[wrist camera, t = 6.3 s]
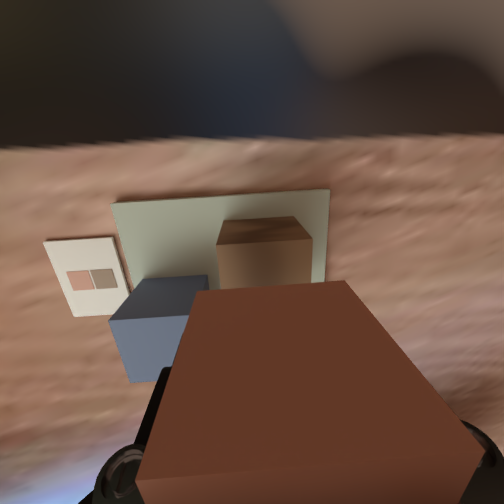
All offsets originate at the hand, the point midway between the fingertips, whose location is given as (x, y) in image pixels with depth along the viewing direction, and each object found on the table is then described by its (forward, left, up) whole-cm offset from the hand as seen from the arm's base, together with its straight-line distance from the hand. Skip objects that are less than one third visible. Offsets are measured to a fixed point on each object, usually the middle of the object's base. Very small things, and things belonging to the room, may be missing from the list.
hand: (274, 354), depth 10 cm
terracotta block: (0, 0, -1) cm, 1 cm away
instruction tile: (+16, +2, -13) cm, 20 cm away
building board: (+3, +2, -13) cm, 13 cm away
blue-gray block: (+8, +5, -12) cm, 15 cm away
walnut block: (0, 0, -12) cm, 12 cm away
